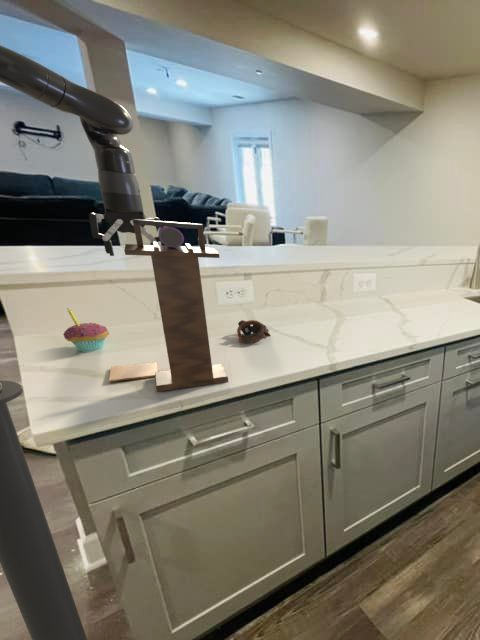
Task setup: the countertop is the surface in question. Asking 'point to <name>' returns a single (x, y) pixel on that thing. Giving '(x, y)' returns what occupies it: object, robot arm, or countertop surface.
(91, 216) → the robot arm
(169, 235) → the plum cup
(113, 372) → the cork coaster
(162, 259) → the stand
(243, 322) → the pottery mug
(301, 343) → the countertop surface
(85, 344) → the cupcake
